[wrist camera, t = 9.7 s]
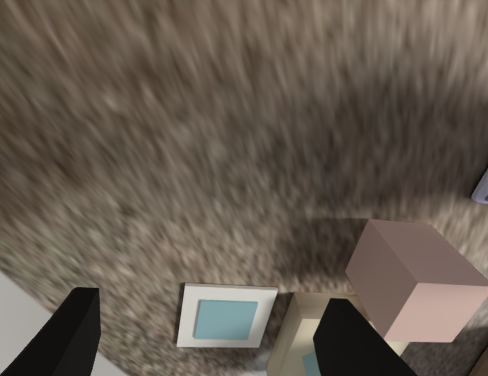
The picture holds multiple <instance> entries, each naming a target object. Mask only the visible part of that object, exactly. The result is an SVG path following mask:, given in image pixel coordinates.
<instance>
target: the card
mask: <svg viewBox="0 0 488 376" xmlns="http://www.w3.org/2000/svg"><path fill="white" fill-rule="evenodd" d="M277 292H278V289H277V287H259V286H238V285H217V284H196V283H185V289H184V296H183V304H182V311H181V318H180V325H179V333H178V340H177V347H246V348H259V346H260V343H261V340H262V337H263V334H264V331H265V328H266V325H267V322H268V319H269V316H270V313H271V310H272V307H273V304H274V301H275V298H276V295H277Z"/></svg>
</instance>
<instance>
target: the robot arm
mask: <svg viewBox="0 0 488 376" xmlns="http://www.w3.org/2000/svg"><path fill="white" fill-rule="evenodd" d="M471 198H472V200H473V201H475V202H476V203H482V204H488V169H487V171H486V172H485V174H484V176H483V177H482V179H481V181H480V182H479V184H478V185H477V187H476V189H475V190H474V192H473V194H472V196H471ZM100 336H101V325H100V299H99V288H86V287H76V288H74V289H73V290H72V291H71V292H70V294H69V295H68V296H67V298H66V299H65V300H64V302H63V303H62V304H61V305H60V307H59V308H58V309H57V310H56V312H55V313H54V314H53V315H52V317H51V318H50V319H49V320H48V322H47V323H46V324H45V325H44V326H43V327H42V329H41V330H40V331H39V332H38V333H37V335H36V336H35V337H34V338H33V339H32V340H31V341H30V342H29V344H28V345H27V346H26V347H25V348H24V350H23V351H22V352H21V353H20V354H19V355H18V356H17V357H16V358H15V360H14V361H13V362H12V363H11V364H10V365H9V366H8V367H7V368H6V369H5V370H4V371H3V372H2V373H1V374H0V376H90V375H91V372H92V369H93V365H94V361H95V357H96V352H97V348H98V344H99V340H100ZM313 343H314V348H315V353H316V358H317V362H318V367H319V371H320V374H321V376H417V374H416V373H415V372H414V371H413V370H412V369H411V368H410V367H409V366H408V365H407V364H406V363H405V362H404V361H403V360H402V359H401V358H400V357H399V355H398V354H397V353H396V352H395V351H394V350H393V349H392V348H391V347H390V346H389V345H388V343H387V342H386V341H385V340H384V339H383V338H382V337H381V336H380V335H379V333H378V332H377V331H376V330H375V329H374V328H373V327H372V326H371V324H370V323H369V322H368V321H367V320H366V319H365V318H364V316H363V315H362V314H361V313H360V312H359V311H358V310H357V309H356V308H355V306H354V305H353V304H352V303H351V302H350V301H349V300H348V299H343V298H330V300H329V302H328V304H327V307H326V309H325V311H324V313H323V316H322V318H321V320H320V322H319V325H318V327H317V329H316V331H315V333H314V336H313Z"/></svg>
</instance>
